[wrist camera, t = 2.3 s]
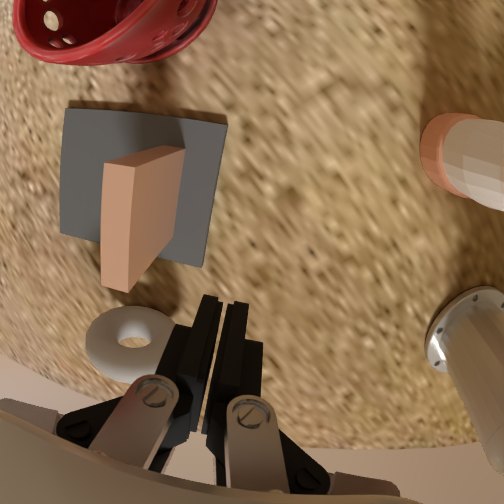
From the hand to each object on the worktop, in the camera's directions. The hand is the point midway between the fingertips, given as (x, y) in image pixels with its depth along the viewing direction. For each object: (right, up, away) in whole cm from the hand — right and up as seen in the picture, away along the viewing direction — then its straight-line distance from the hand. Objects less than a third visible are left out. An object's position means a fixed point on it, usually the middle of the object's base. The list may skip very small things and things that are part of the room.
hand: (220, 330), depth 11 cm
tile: (-6, +8, +15) cm, 18 cm away
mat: (-10, +9, +16) cm, 21 cm away
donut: (-10, -4, +22) cm, 24 cm away
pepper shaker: (+19, +12, +12) cm, 26 cm away
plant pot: (-7, +24, +9) cm, 27 cm away
